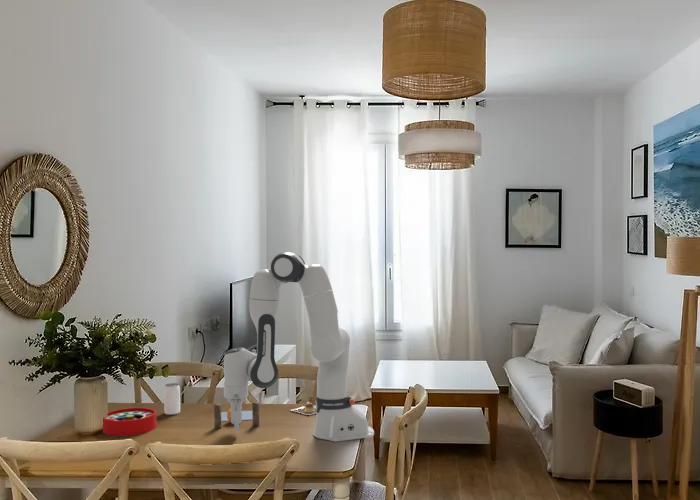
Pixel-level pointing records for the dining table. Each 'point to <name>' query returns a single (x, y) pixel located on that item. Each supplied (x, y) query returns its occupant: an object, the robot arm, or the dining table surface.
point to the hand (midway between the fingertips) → (236, 429)
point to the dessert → (306, 408)
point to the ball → (230, 415)
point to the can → (172, 399)
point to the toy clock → (129, 421)
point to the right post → (255, 413)
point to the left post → (217, 416)
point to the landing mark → (245, 416)
